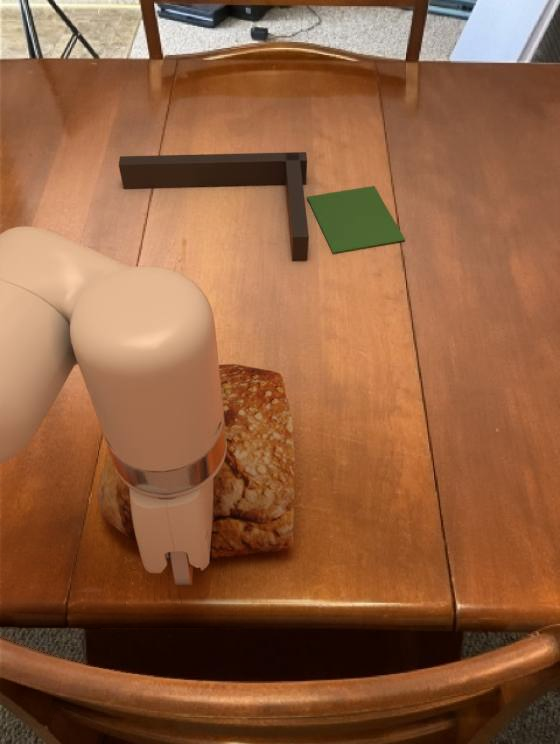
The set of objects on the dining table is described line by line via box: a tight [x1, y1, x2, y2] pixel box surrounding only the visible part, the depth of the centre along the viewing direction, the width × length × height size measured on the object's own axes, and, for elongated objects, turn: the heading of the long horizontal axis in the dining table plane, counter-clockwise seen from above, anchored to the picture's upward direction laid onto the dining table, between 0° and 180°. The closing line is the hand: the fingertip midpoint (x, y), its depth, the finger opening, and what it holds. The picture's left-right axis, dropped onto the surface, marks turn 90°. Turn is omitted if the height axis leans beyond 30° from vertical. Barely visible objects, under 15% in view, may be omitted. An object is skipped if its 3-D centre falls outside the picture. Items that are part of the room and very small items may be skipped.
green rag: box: [306, 185, 406, 255], centre depth 92 cm, size 10×12×1 cm
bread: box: [96, 363, 296, 559], centre depth 64 cm, size 20×18×10 cm
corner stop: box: [118, 151, 310, 262], centre depth 91 cm, size 26×18×4 cm
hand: (193, 552), depth 58 cm, fingers closed
